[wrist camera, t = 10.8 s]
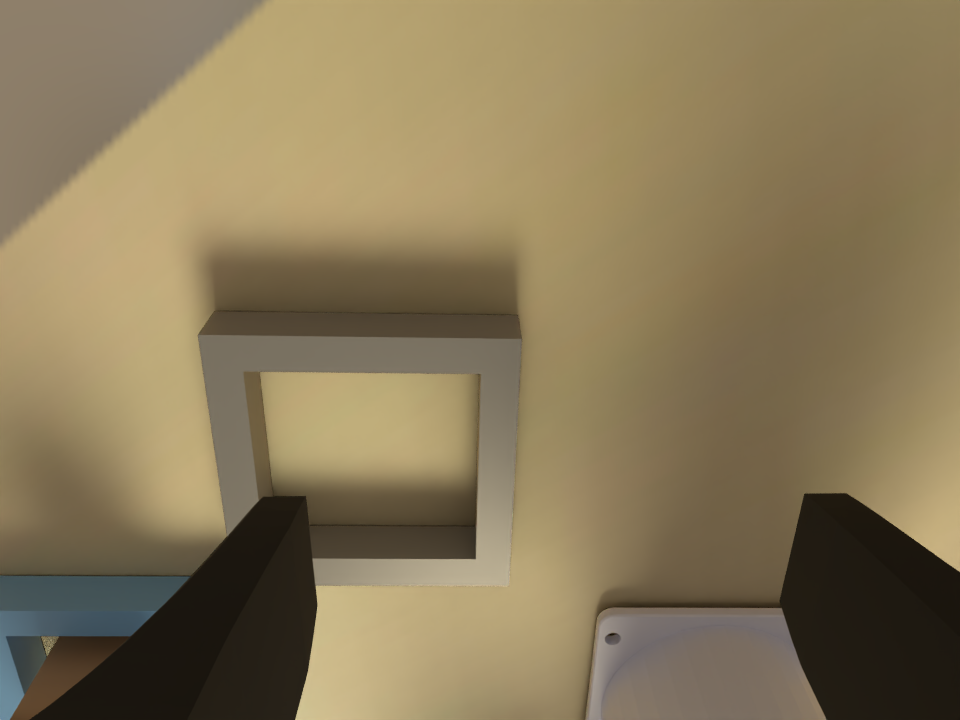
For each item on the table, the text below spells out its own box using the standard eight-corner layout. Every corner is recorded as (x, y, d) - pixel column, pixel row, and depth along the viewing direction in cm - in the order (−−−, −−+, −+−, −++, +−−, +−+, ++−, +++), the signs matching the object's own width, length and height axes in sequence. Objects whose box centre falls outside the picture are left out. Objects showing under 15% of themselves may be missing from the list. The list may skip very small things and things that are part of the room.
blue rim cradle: (273, 750, 29) (263, 789, 27) (45, 751, 29) (24, 790, 27) (250, 576, 25) (238, 611, 24) (-11, 575, 25) (-38, 610, 24)
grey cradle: (506, 552, 25) (509, 586, 24) (246, 551, 25) (234, 585, 23) (517, 315, 21) (521, 339, 20) (214, 310, 21) (197, 334, 20)
